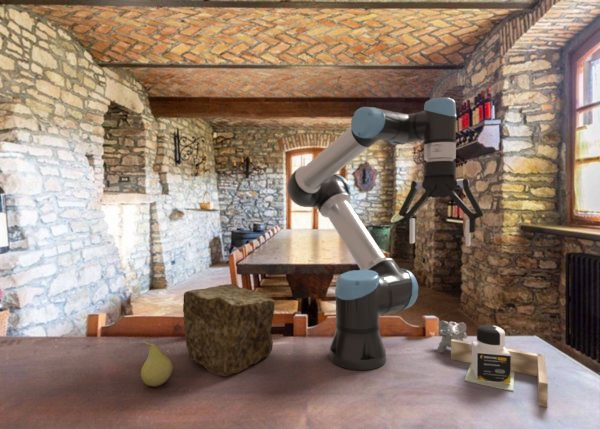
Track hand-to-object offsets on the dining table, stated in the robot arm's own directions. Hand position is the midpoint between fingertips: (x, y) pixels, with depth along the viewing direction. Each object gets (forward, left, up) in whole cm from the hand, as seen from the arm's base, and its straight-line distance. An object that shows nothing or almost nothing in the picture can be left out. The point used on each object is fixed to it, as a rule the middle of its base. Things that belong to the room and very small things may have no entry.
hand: (439, 244), depth 96 cm
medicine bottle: (+12, 0, -32) cm, 34 cm away
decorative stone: (-50, -24, -32) cm, 64 cm away
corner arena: (+12, -1, -32) cm, 34 cm away
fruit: (-55, -44, -32) cm, 77 cm away
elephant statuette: (+1, +14, -32) cm, 35 cm away
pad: (+12, 0, -32) cm, 34 cm away
